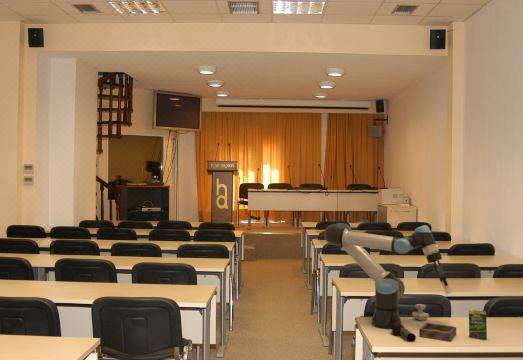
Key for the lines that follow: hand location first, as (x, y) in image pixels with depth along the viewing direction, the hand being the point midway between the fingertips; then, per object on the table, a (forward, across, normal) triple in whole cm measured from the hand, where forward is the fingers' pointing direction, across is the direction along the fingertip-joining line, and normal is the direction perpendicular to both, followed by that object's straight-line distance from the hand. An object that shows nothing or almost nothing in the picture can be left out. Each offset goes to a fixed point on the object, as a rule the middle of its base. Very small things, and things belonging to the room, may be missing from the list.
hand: (449, 293), depth 256 cm
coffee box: (+24, -6, -4) cm, 25 cm away
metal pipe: (+13, -17, +30) cm, 37 cm away
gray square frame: (+18, -9, +13) cm, 24 cm away
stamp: (+8, +19, +19) cm, 28 cm away
